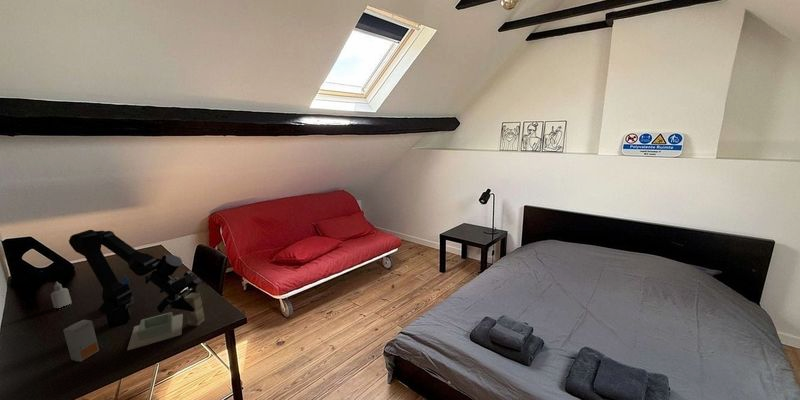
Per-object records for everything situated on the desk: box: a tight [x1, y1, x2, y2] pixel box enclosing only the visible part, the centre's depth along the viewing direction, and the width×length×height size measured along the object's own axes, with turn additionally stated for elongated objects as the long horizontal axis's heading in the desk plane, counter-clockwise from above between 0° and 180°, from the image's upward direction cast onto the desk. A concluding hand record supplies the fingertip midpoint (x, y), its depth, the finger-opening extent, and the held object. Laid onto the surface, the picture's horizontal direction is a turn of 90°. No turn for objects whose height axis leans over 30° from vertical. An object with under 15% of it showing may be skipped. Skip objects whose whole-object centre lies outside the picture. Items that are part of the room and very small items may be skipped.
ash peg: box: [183, 292, 205, 327], centre depth 129 cm, size 4×4×12 cm
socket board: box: [127, 311, 184, 351], centre depth 125 cm, size 16×16×4 cm
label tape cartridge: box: [119, 273, 135, 307], centre depth 146 cm, size 9×4×12 cm, turn 50°
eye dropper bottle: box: [50, 281, 73, 309], centre depth 144 cm, size 4×6×12 cm
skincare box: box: [63, 319, 100, 362], centre depth 111 cm, size 6×4×12 cm
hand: (197, 307), depth 129 cm, fingers closed on ash peg, 4 cm apart
